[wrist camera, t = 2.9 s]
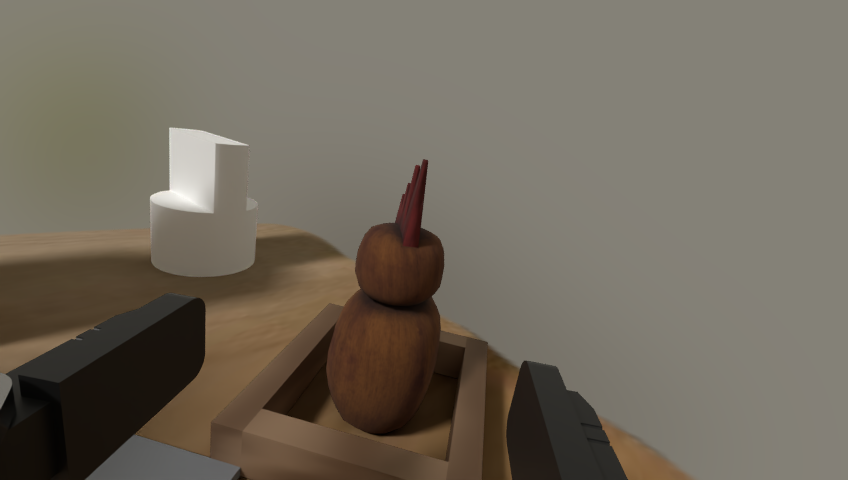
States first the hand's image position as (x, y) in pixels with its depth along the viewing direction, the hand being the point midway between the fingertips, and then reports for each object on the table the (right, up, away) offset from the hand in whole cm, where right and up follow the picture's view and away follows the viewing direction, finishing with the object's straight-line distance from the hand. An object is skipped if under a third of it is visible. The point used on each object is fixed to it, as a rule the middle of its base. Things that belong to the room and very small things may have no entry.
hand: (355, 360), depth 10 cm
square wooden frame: (-1, -7, +14) cm, 16 cm away
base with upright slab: (-20, +1, +30) cm, 36 cm away
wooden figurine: (-1, -7, +14) cm, 16 cm away
